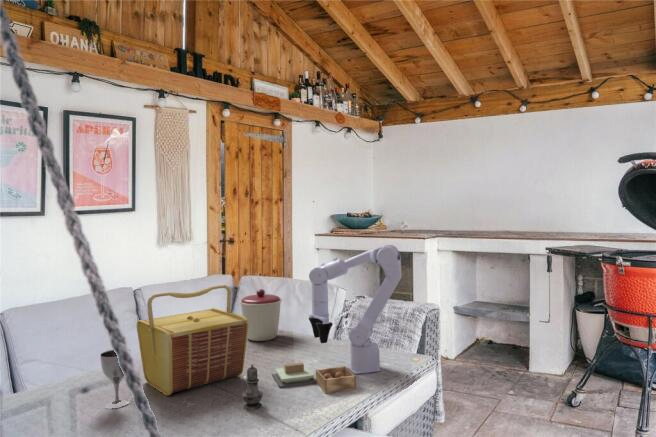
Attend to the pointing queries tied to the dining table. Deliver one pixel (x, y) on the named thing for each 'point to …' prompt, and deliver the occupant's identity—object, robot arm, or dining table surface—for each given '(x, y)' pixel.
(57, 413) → the dining table surface
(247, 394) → the salt shaker
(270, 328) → the canister
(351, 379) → the box
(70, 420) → the dining table surface
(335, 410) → the dining table surface
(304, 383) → the mat
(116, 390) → the wine glass
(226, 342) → the picnic basket
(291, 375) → the lid
